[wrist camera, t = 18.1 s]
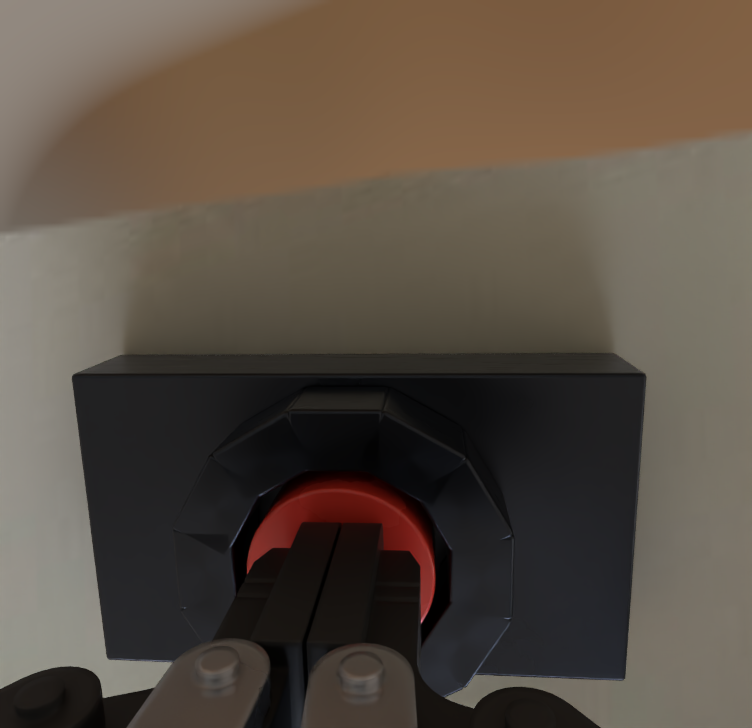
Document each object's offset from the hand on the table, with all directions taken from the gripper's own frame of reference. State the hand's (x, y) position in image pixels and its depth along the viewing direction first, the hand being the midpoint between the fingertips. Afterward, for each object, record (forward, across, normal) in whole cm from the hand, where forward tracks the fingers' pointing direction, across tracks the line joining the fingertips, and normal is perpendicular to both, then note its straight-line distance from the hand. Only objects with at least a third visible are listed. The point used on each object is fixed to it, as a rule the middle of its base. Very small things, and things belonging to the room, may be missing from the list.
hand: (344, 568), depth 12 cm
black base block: (+4, 0, 0) cm, 4 cm away
